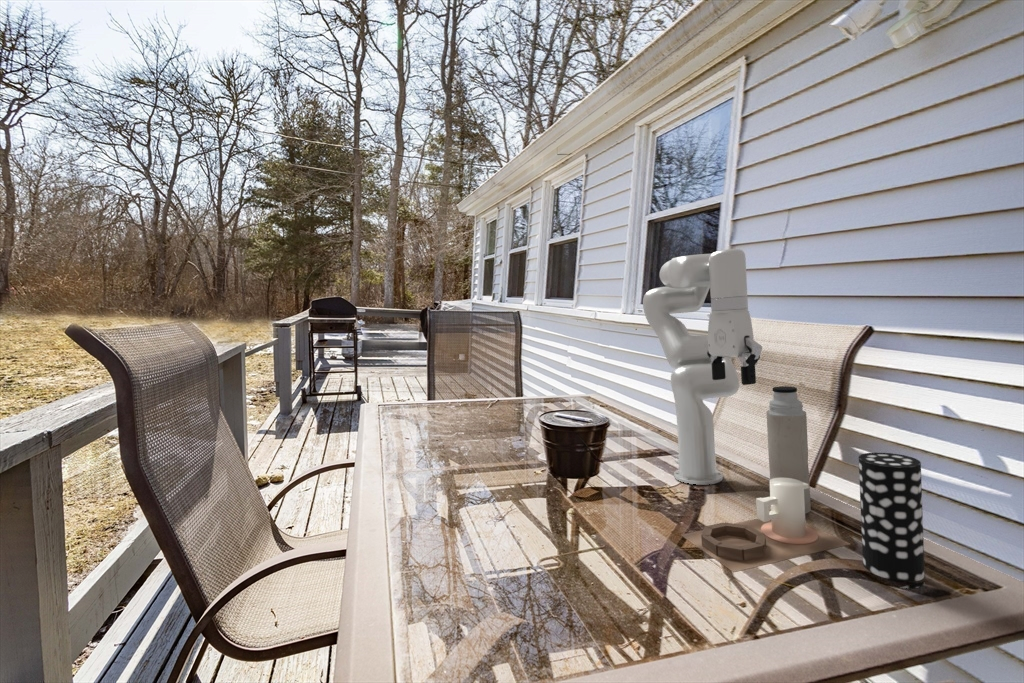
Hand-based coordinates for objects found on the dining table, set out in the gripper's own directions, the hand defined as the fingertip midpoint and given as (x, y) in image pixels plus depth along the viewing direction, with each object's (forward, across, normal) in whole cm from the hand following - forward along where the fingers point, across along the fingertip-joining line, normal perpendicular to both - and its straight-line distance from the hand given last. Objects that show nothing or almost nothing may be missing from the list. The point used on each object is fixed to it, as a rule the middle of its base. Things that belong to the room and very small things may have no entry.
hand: (733, 381), depth 111 cm
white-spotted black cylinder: (+31, +31, +5) cm, 44 cm away
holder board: (+30, +14, -6) cm, 34 cm away
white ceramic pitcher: (+29, +14, -1) cm, 32 cm away
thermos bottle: (+31, +2, +12) cm, 33 cm away
